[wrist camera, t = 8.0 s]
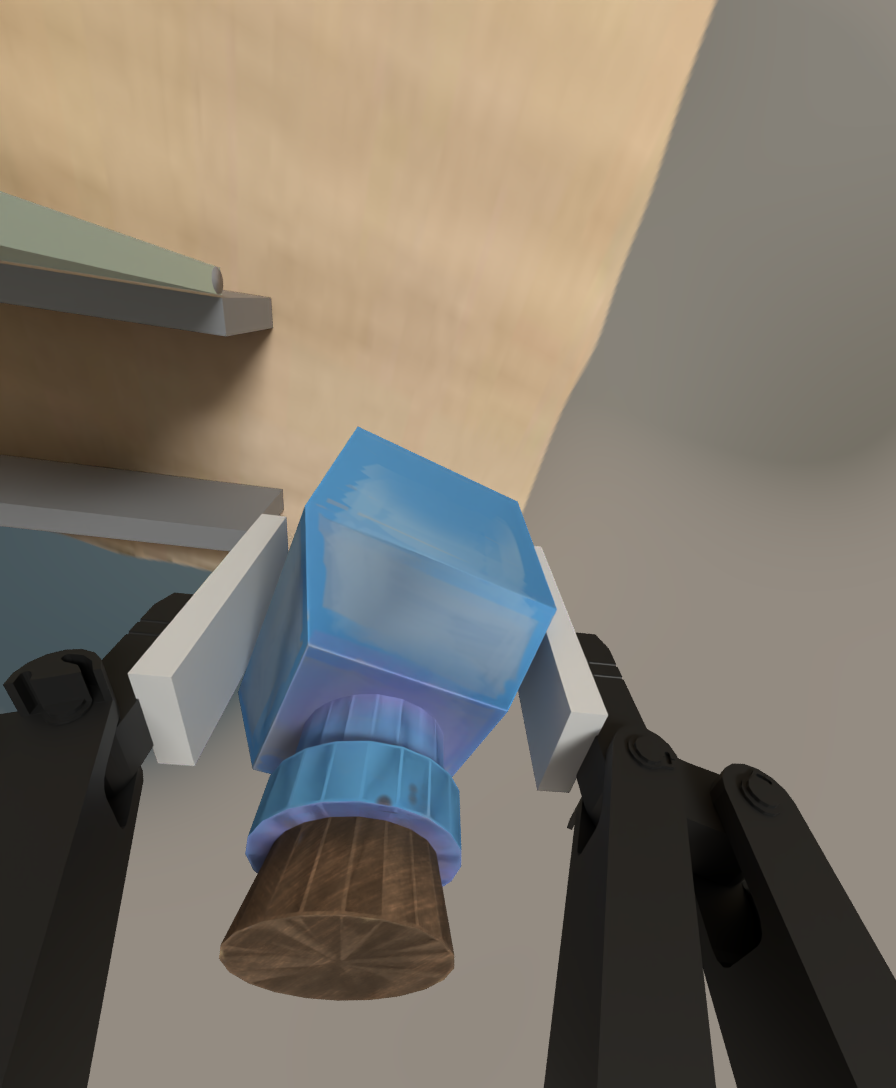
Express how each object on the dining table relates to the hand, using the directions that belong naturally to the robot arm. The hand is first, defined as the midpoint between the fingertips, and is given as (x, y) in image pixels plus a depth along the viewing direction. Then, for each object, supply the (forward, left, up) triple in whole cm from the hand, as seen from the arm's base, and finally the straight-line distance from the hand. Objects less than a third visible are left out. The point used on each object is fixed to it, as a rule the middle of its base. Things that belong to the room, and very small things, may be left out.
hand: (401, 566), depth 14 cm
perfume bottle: (0, 0, -2) cm, 2 cm away
